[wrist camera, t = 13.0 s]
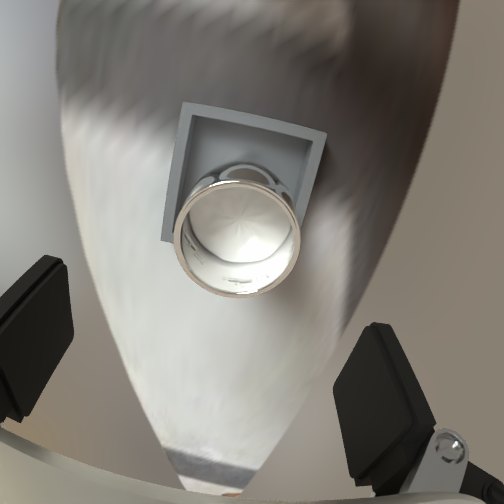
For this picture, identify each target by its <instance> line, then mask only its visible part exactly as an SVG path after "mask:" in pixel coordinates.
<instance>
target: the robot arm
mask: <svg viewBox="0 0 504 504" xmlns="http://www.w3.org/2000/svg"><path fill="white" fill-rule="evenodd" d="M73 336H74V327H73V320H72V313H71V304H70V295H69V284H68V272H67V266H66V265H65V264H63V261H62V259H60V258H57V257H53V256H49V255H44V256H43V257H42V258H40V259H39V260H38V261H37V262H36V263H35V264H34V265H33V266H32V267H31V268H30V269H29V270H27V271H26V272H25V273H24V274H23V275H22V276H21V277H20V278H19V279H18V280H17V281H16V282H15V283H14V284H13V285H12V286H11V287H10V288H9V289H8V290H7V291H6V292H5V293H4V294H3V295H2V296H1V297H0V504H504V485H503V483H502V482H501V481H499V480H498V479H496V478H495V477H493V476H492V475H490V474H488V473H487V472H485V471H483V470H482V469H480V468H479V467H477V466H476V465H474V464H472V463H471V462H469V461H468V459H469V449H468V446H467V443H466V441H465V440H464V439H463V437H462V436H461V435H460V434H458V433H457V432H456V431H453V430H450V429H445V428H443V429H439V430H437V431H436V432H435V430H434V428H433V426H434V425H435V424H436V421H435V419H434V416H433V414H432V412H431V409H430V407H429V405H428V403H427V400H426V398H425V396H424V393H423V391H422V389H421V387H420V385H419V382H418V380H417V379H416V376H415V374H414V372H413V370H412V367H411V365H410V363H409V361H408V359H407V357H406V355H405V353H404V351H403V349H402V347H401V345H400V343H399V341H398V339H397V337H396V335H395V333H394V331H393V329H392V327H391V326H390V325H389V324H383V323H376V322H373V323H371V324H370V326H366V327H365V328H364V330H363V332H362V334H361V336H360V337H359V339H358V341H357V343H356V345H355V347H354V349H353V351H352V353H351V354H350V356H349V358H348V360H347V362H346V364H345V365H344V367H343V369H342V371H341V372H340V374H339V376H338V378H337V379H336V381H335V383H334V386H333V395H334V399H335V404H336V409H337V413H338V418H339V423H340V428H341V433H342V438H343V443H344V448H345V453H346V458H347V463H348V469H349V474H350V476H351V477H352V478H354V480H355V485H356V486H369V485H372V489H373V492H372V493H371V495H370V497H369V498H358V499H343V500H323V501H281V500H260V499H247V498H236V497H227V496H218V495H211V494H204V493H198V492H192V491H186V490H180V489H175V488H170V487H165V486H161V485H156V484H152V483H148V482H144V481H140V480H136V479H132V478H128V477H125V476H121V475H118V474H115V473H111V472H108V471H105V470H102V469H99V468H95V467H92V466H89V465H87V464H84V463H81V462H78V461H76V460H73V459H70V458H68V457H65V456H62V455H60V454H58V453H55V452H53V451H50V450H48V449H46V448H43V447H41V446H39V445H37V444H35V443H32V442H30V441H28V440H26V439H24V438H22V437H19V436H17V435H15V434H13V433H11V432H9V431H7V430H5V426H4V420H5V418H6V417H9V418H11V419H13V420H15V421H17V422H19V423H21V422H22V420H23V418H24V416H26V417H27V416H29V415H30V413H31V411H32V409H33V408H34V406H35V404H36V402H37V400H38V398H39V397H40V395H41V393H42V391H43V389H44V388H45V386H46V384H47V382H48V381H49V379H50V377H51V375H52V374H53V372H54V370H55V369H56V367H57V365H58V363H59V362H60V360H61V358H62V357H63V355H64V353H65V352H66V350H67V349H68V347H69V345H70V343H71V342H72V340H73Z"/></svg>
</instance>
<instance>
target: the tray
mask: <svg viewBox="0 0 504 504" xmlns="http://www.w3.org/2000/svg"><path fill="white" fill-rule="evenodd" d="M326 137H327V133H325V132H322V131H318V130H315V129H311V128H307V127H304V126H300V125H296V124H292V123H288V122H284V121H280V120H276V119H272V118H267V117H263V116H259V115H254V114H249V113H245V112H240V111H235V110H230V109H224V108H219V107H214V106H208V105H202V104H196V103H189V102H183V105H182V109H181V114H180V119H179V124H178V130H177V135H176V140H175V146H174V152H173V157H172V163H171V169H170V176H169V182H168V189H167V196H166V203H165V210H164V217H163V225H162V233H161V241H165V242H170V243H174V228H175V224H176V220H177V218H178V215H179V213H180V211H181V209H182V208H183V205H184V203H185V201H186V199H187V196H188V195H189V193H190V191H191V190H192V188H193V187H194V185H195V184H196V183H197V181H198V180H199V179H200V178H201V177H202V176H203V175H204V174H205V173H207V172H208V171H209V170H210V169H212V168H214V167H215V166H217V164H218V163H219V162H220V161H221V159H223V158H224V157H225V156H226V155H228V154H230V153H232V152H234V151H238V150H252V151H255V152H258V153H260V154H262V155H263V156H265V157H266V158H267V159H268V160H269V161H270V162H271V163H272V165H273V166H274V168H275V170H276V173H277V175H278V176H279V177H280V178H281V179H282V180H283V182H284V183H285V185H286V186H287V188H288V190H289V192H290V193H291V196H292V198H293V201H294V204H295V208H296V212H297V218H298V225H299V229H300V230H301V226H302V223H303V219H304V216H305V212H306V209H307V206H308V202H309V199H310V195H311V192H312V188H313V184H314V181H315V177H316V174H317V170H318V166H319V163H320V159H321V155H322V152H323V148H324V144H325V141H326Z"/></svg>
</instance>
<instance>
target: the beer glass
mask: <svg viewBox="0 0 504 504" xmlns="http://www.w3.org/2000/svg"><path fill="white" fill-rule="evenodd" d="M300 245H301V235H300V229H299V225H298V218H297V212H296V208H295V204H294V201H293V198H292V196H291V193H290V192H289V190H288V188H287V186H286V185H285V183H284V182H283V180H282V179H281V178H280V177H279V176H278V175H277V173H276V170H275V168H274V166H273V165H272V163H271V162H270V161H269V160H268V159H267V158H266V157H265V156H263V155H262V154H260V153H258V152H255V151H252V150H238V151H234V152H232V153H230V154H228V155H226V156H225V157H224V158H223V159H221V161H220V162H219V163H218V164H217V166H215V167H214V168H212V169H210V170H209V171H208V172H207V173H205V174H204V175H203V176H202V177H201V178H200V179H199V180H198V181H197V183H196V184H195V185H194V187H193V188H192V190H191V191H190V193H189V195H188V196H187V199H186V201H185V203H184V205H183V208H182V209H181V211H180V213H179V215H178V218H177V220H176V224H175V228H174V247H175V252H176V255H177V258H178V261H179V263H180V265H181V266H182V268H183V270H184V271H185V272H186V274H187V275H188V276H189V277H190V278H191V279H192V280H193V281H194V282H195V283H196V284H198V285H199V286H201V287H202V288H204V289H206V290H207V291H209V292H212V293H214V294H217V295H220V296H225V297H231V298H246V297H252V296H256V295H260V294H262V293H265V292H267V291H269V290H271V289H273V288H274V287H276V286H277V285H278V284H280V283H281V282H282V281H283V280H284V279H285V278H286V277H287V276H288V275H289V273H290V272H291V271H292V269H293V267H294V265H295V263H296V261H297V258H298V255H299V251H300Z"/></svg>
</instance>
